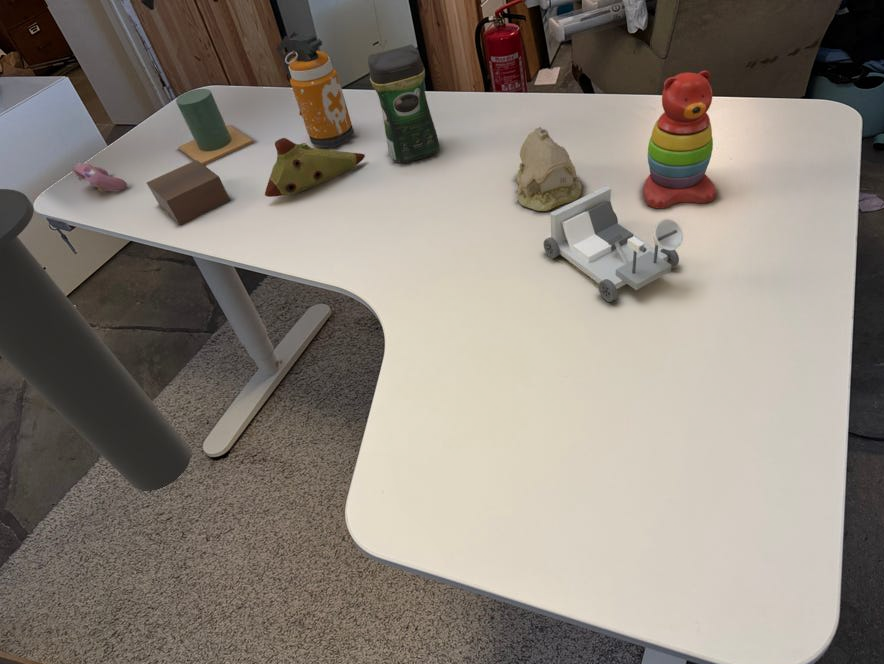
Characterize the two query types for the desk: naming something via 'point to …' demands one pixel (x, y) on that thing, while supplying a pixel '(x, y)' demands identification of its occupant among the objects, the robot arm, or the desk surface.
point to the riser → (188, 191)
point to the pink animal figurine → (98, 177)
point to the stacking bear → (681, 144)
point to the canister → (316, 90)
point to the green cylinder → (204, 119)
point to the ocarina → (306, 167)
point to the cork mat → (208, 156)
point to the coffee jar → (403, 103)
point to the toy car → (610, 245)
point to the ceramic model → (546, 173)
